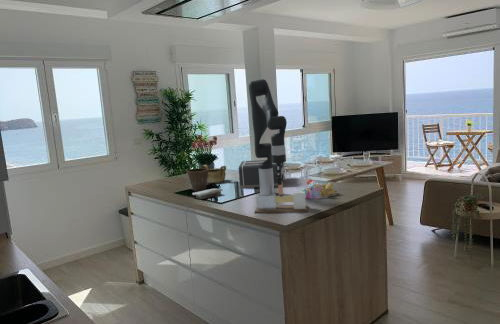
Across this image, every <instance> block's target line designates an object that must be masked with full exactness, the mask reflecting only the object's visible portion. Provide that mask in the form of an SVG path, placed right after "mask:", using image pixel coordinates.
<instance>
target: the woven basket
mask: <svg viewBox="0 0 500 324" xmlns="http://www.w3.org/2000/svg"><path fill="white" fill-rule="evenodd" d="M201 168H207V169H208V179H207V184H218V183H219V184H220V183H223V182H224V181H225V180H226V175H227V174H226V170H227V165H221V166H220V168H209V166H208V165H207V164H203V165H202V166H201Z"/></svg>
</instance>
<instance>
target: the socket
mask: <svg viewBox="0 0 500 324" xmlns="http://www.w3.org/2000/svg"><path fill="white" fill-rule="evenodd" d="M292 195H293V200H294V202H293V205H294V209H305V208H306V205H307V204H306V202H307V201H306V198H305V192H301V191H299V192H298V191H294V192H293V193H292Z"/></svg>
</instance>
